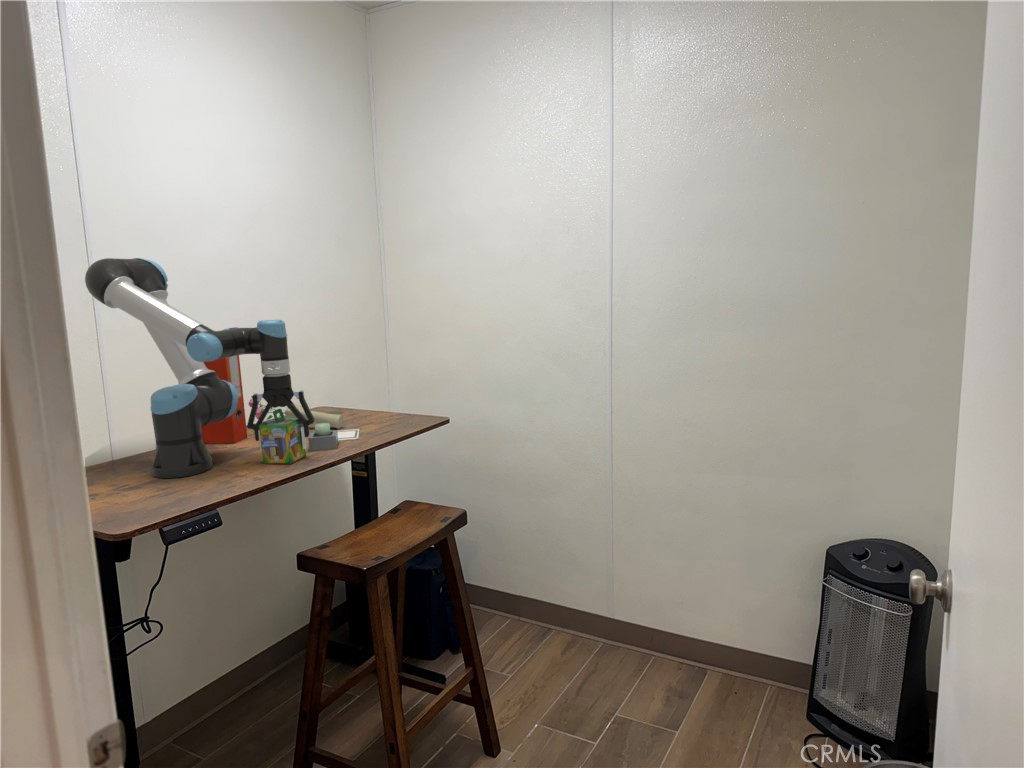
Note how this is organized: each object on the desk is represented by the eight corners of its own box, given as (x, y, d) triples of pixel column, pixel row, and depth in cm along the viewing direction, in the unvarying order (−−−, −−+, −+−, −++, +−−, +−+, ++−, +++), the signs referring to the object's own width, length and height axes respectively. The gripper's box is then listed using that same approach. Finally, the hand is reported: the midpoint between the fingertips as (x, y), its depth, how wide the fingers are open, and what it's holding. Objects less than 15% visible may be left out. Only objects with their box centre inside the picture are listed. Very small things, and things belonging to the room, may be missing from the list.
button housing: (309, 451, 202) (308, 438, 202) (312, 444, 210) (311, 432, 210) (336, 448, 204) (335, 435, 203) (338, 442, 212) (337, 430, 211)
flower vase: (332, 452, 230) (237, 430, 234) (347, 433, 241) (255, 413, 244) (332, 423, 224) (235, 401, 228) (347, 405, 235) (254, 385, 239)
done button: (315, 439, 204) (314, 426, 203) (316, 436, 208) (315, 423, 208) (330, 438, 205) (329, 425, 204) (331, 435, 209) (330, 422, 208)
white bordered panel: (319, 442, 213) (319, 441, 212) (323, 432, 226) (323, 431, 226) (357, 439, 215) (357, 438, 215) (359, 429, 228) (359, 428, 228)
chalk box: (291, 464, 188) (286, 413, 186) (261, 464, 190) (256, 413, 188) (307, 455, 197) (302, 406, 195) (279, 455, 199) (274, 406, 197)
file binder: (200, 437, 226) (189, 343, 221) (248, 437, 224) (237, 342, 218) (185, 443, 218) (173, 346, 213) (234, 443, 216) (223, 345, 210)
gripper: (229, 379, 184) (238, 456, 187) (317, 373, 188) (324, 449, 192) (235, 375, 191) (243, 450, 195) (320, 370, 195) (326, 443, 199)
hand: (283, 449), depth 193 cm, fingers closed on chalk box, 11 cm apart
